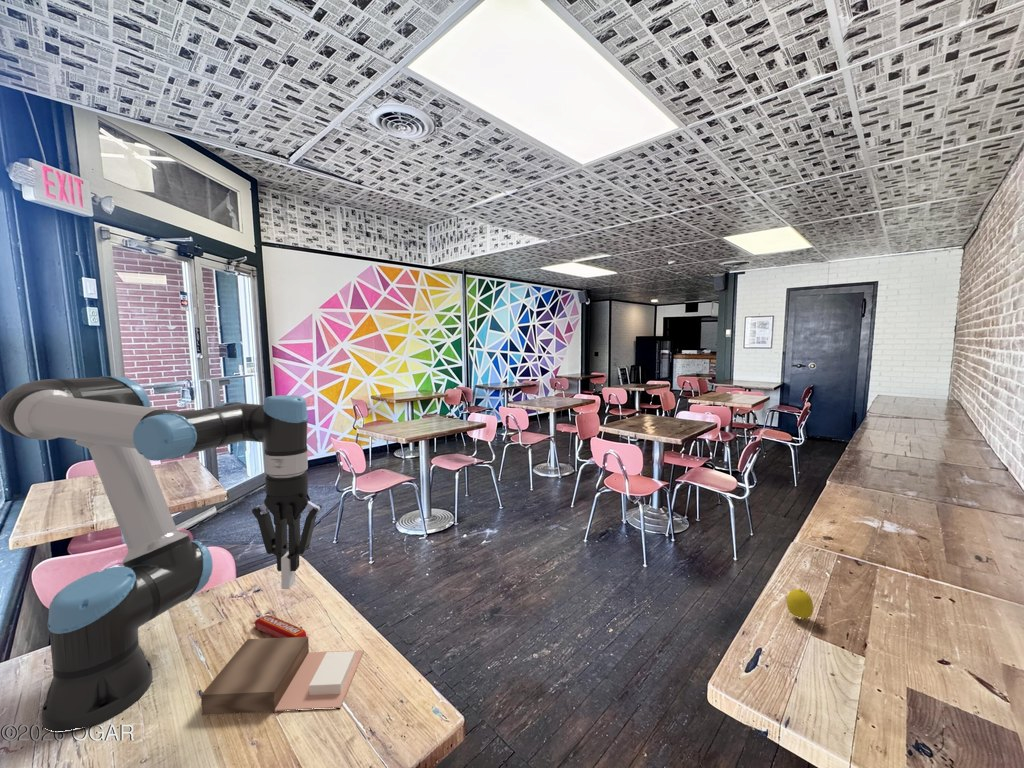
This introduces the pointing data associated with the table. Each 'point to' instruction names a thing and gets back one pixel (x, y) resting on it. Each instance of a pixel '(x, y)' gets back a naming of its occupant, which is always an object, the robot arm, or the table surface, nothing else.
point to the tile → (332, 673)
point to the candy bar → (278, 627)
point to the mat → (299, 685)
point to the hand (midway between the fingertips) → (288, 585)
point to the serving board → (255, 676)
